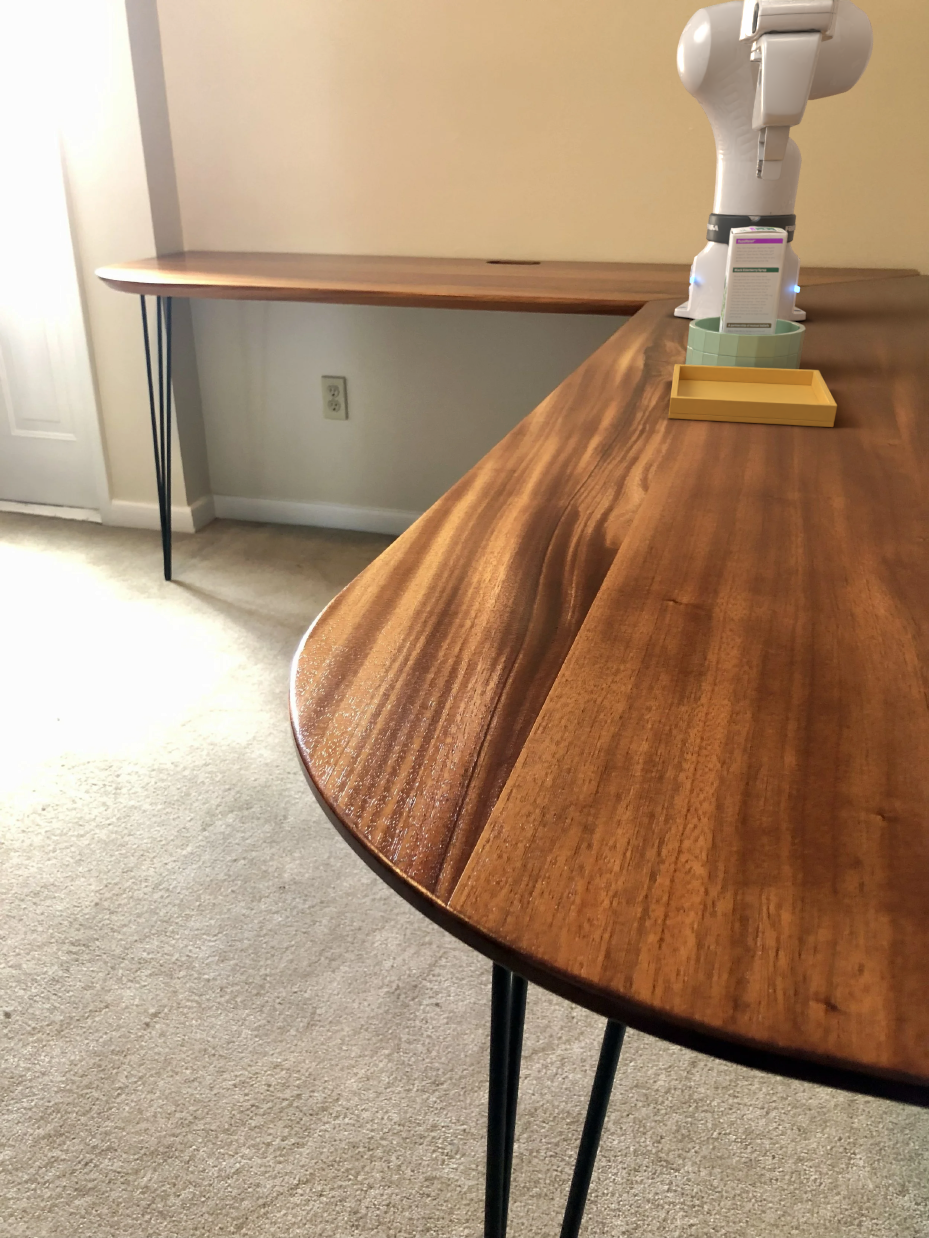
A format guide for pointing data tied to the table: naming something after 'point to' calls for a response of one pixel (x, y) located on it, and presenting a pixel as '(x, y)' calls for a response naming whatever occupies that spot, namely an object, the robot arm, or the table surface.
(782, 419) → the tray
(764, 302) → the syrup box
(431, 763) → the table surface
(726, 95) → the robot arm
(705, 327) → the bowl
